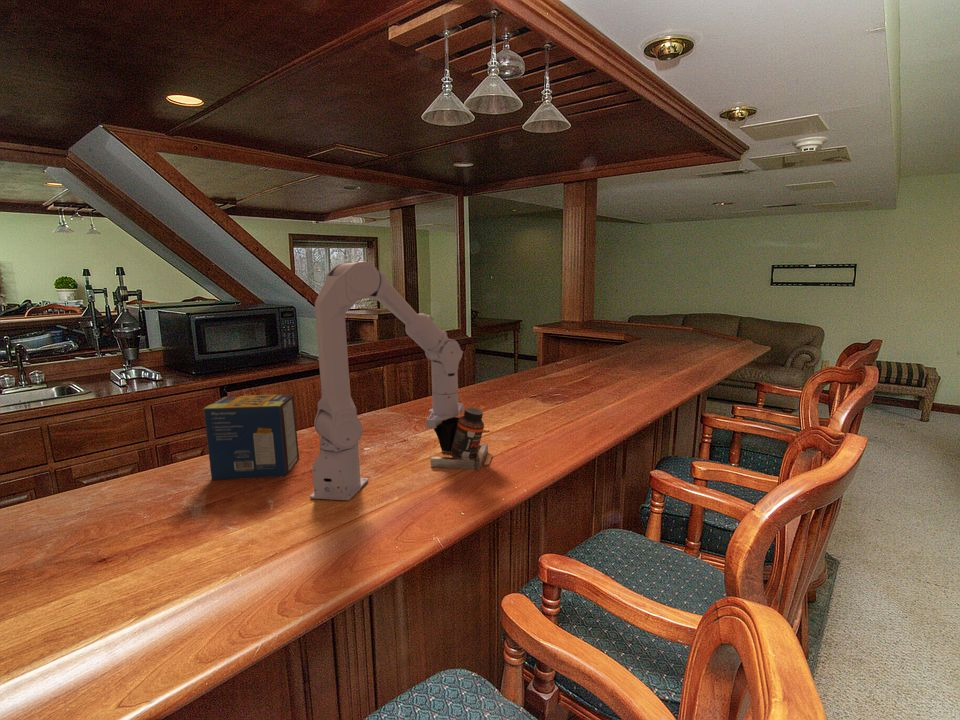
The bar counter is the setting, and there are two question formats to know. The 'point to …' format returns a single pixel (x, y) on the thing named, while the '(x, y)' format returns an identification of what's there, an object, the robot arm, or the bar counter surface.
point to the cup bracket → (464, 460)
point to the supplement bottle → (468, 434)
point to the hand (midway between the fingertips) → (447, 450)
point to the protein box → (251, 436)
